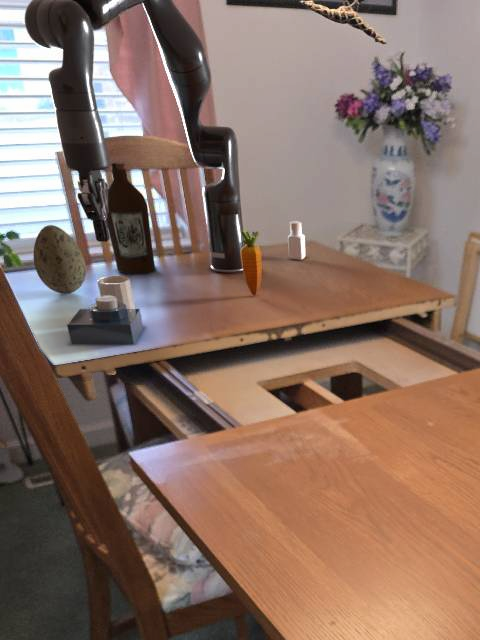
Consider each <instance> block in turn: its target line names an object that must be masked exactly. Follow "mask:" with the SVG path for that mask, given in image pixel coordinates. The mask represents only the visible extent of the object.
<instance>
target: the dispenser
mask: <svg viewBox="0 0 480 640" xmlns="http://www.w3.org/2000/svg"><path fill="white" fill-rule="evenodd" d="M117 303H118V308H116V309H113V310H98V309H97V306H96V303H94V304H91V305H90V306H88V308H80V309H78V311H77V312H76V313H75V315H73V317H72V318H71V319H70V320H69V321H68V323H67V324H66V327H67V331H68V335H69V340H70V343H71V345H135V343H136V341H137V340H138V337H139V335H140V334H141V332H142V331H143V329H144V325H143V319H142V315H141V308H135V309H127V307H126V305H125V304H124V303H121V302H117Z"/></svg>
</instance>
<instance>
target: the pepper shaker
mask: <svg viewBox="0 0 480 640" xmlns="http://www.w3.org/2000/svg"><path fill="white" fill-rule="evenodd" d="M289 230H290V234H288V236H287V245H288V246H287V247H288V258H289V259H290V260H299V261H301V260H303V259H304V258H306V239H305V237H306V235H305V234H303V231H302V221H295V220H294V221H293V220H292V221H290V222H289Z"/></svg>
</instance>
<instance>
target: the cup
mask: <svg viewBox="0 0 480 640" xmlns="http://www.w3.org/2000/svg"><path fill="white" fill-rule="evenodd" d="M97 286H98V291H99V295H100V296H115V297H116V298H117V302H121V303H124V304H125V305H126V307H127V309H136V306H135V301H134V296H133V295H134V294H133V290H132V284H131V279H130V277H128V276H124V275H108V276H107V275H106V276H103V277H100V278H98V279H97ZM100 296H99V297H100Z"/></svg>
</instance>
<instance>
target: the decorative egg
mask: <svg viewBox="0 0 480 640" xmlns="http://www.w3.org/2000/svg"><path fill="white" fill-rule="evenodd" d="M33 265H34V269H35V272H36V274H37V276H38V278H39V280H40V281H41V282H42V284H44V286H46V287H47V288H48V289H50V290H51V291H53V292H55V293H59V294H62V295H63V294H64V295H67V294H73V293H75V292H76V291H78V290H79V289H80V288H81V287H82V286H83V284H84V282H85V279H86V275H87V266H86V262H85V258H84V255H83V253H82V251H81V249H80V247H79V245H77V243H76V241H75V240H74V239H73V238H72V236H71V235H70V234H68V233H67V232H66V231H65V230H64V229H63V228H61V227H58V226H56V225H53V224H48V225H45V226H43V227H42V228H41V230H40V231H39V233H38V234H37V236H36V239H35V242H34V245H33Z"/></svg>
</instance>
